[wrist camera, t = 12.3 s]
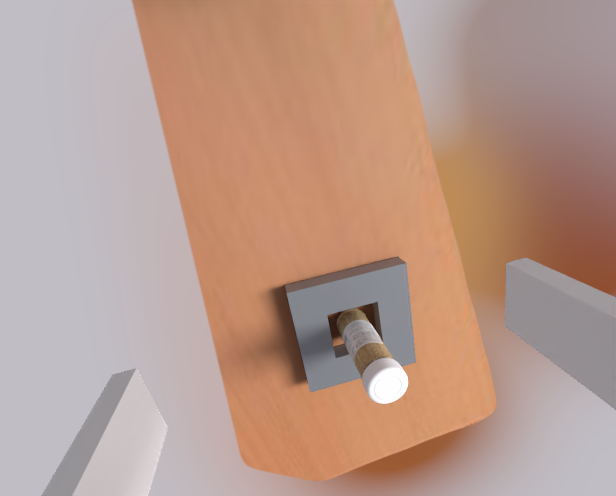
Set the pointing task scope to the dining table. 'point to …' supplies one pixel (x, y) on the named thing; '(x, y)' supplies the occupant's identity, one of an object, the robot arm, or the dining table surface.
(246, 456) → the dining table surface
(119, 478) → the robot arm
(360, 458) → the dining table surface
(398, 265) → the socket plate
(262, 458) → the dining table surface
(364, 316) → the sprinkles bottle
